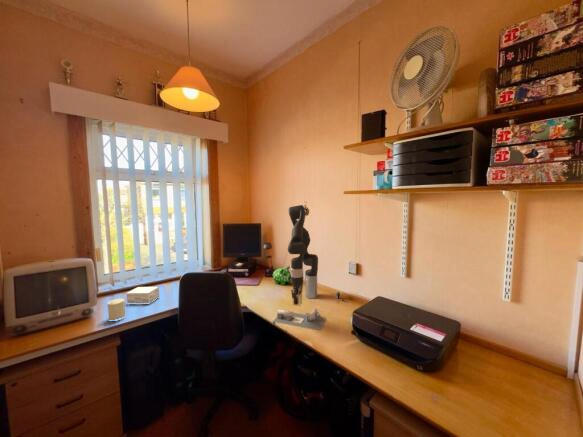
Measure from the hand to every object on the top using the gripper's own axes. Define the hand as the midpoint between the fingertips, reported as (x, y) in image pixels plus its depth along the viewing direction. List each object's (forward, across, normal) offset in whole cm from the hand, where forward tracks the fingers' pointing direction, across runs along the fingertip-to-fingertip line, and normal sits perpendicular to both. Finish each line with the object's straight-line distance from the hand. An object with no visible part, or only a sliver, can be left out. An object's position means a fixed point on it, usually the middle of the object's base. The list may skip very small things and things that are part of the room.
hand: (297, 302), depth 147 cm
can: (+13, +36, -112) cm, 118 cm away
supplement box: (+13, +11, -121) cm, 122 cm away
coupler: (+1, 0, 0) cm, 1 cm away
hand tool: (+13, -5, +35) cm, 38 cm away
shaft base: (+13, -1, +1) cm, 13 cm away
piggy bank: (+13, -60, -37) cm, 72 cm away
